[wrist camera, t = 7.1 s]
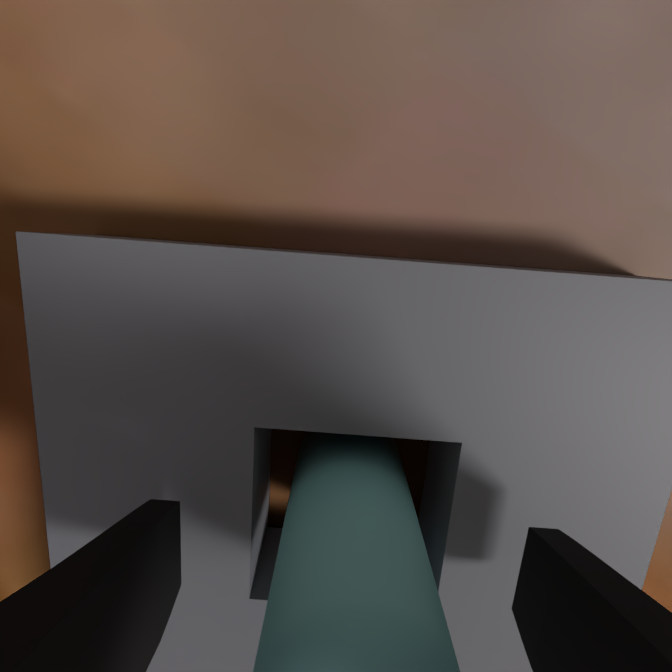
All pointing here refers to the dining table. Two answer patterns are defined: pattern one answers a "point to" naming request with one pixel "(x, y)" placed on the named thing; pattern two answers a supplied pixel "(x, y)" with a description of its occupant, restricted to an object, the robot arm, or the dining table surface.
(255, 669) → the peg
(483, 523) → the peg block
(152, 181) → the dining table surface
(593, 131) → the dining table surface
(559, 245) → the dining table surface
